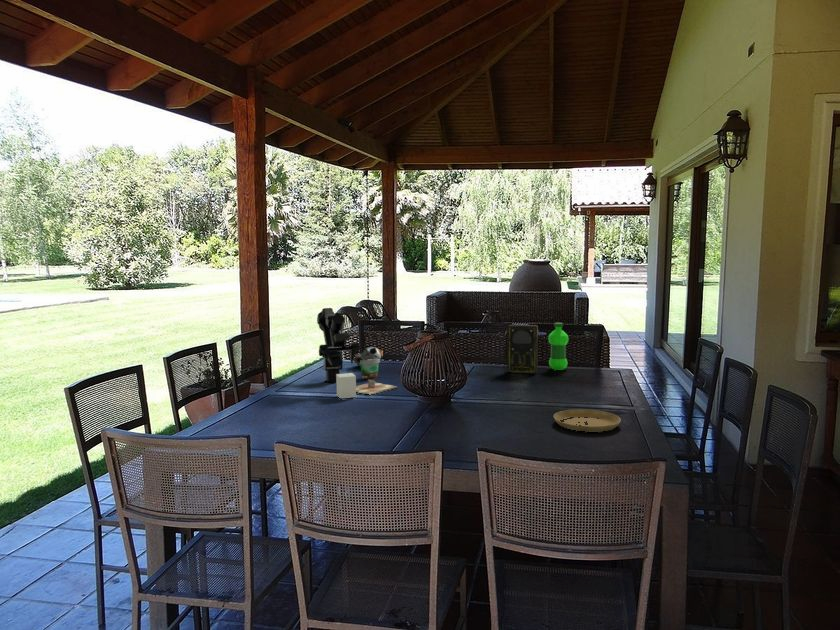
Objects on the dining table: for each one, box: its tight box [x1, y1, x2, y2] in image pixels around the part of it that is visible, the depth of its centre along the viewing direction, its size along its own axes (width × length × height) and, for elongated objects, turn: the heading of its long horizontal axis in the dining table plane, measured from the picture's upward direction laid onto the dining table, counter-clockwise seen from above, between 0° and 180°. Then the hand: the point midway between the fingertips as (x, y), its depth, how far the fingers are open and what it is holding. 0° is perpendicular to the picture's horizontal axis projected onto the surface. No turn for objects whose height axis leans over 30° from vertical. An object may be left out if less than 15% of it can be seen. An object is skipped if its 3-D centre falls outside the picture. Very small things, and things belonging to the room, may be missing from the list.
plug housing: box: [335, 372, 357, 399], centre depth 283 cm, size 7×7×10 cm
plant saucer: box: [553, 409, 622, 433], centre depth 234 cm, size 24×24×3 cm
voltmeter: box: [507, 324, 539, 375], centre depth 330 cm, size 16×9×25 cm, turn 73°
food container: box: [360, 357, 381, 380], centre depth 322 cm, size 12×6×10 cm, turn 143°
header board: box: [356, 379, 398, 396], centre depth 296 cm, size 16×18×4 cm
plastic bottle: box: [547, 322, 570, 371], centre depth 335 cm, size 10×10×25 cm
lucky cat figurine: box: [353, 346, 384, 368], centre depth 352 cm, size 15×12×14 cm
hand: (342, 364), depth 289 cm, fingers open, 9 cm apart
